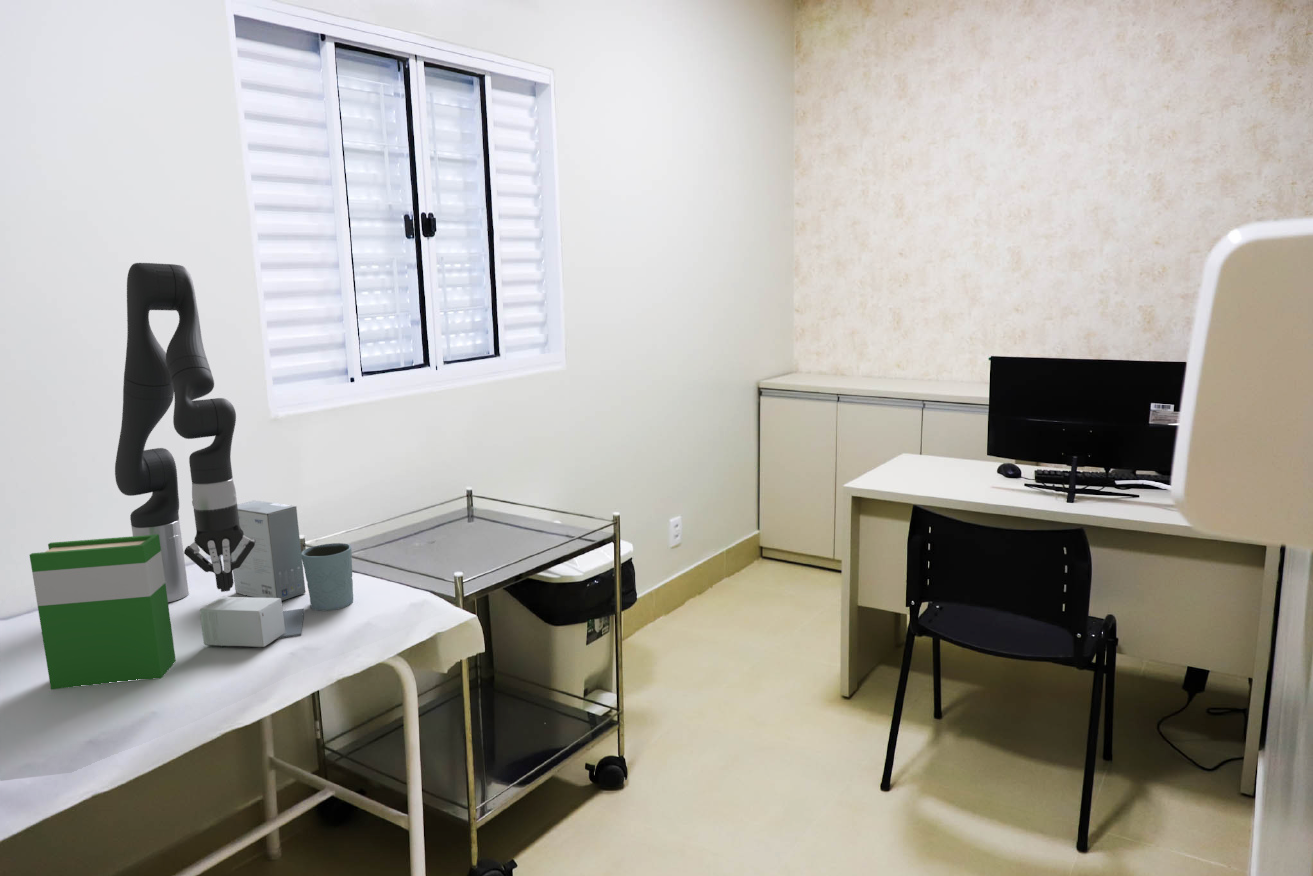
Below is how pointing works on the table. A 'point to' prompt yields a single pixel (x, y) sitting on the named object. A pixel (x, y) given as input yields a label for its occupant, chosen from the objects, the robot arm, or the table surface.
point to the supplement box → (242, 621)
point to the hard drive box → (270, 552)
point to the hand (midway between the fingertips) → (225, 590)
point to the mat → (293, 622)
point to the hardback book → (103, 610)
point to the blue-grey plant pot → (329, 575)
